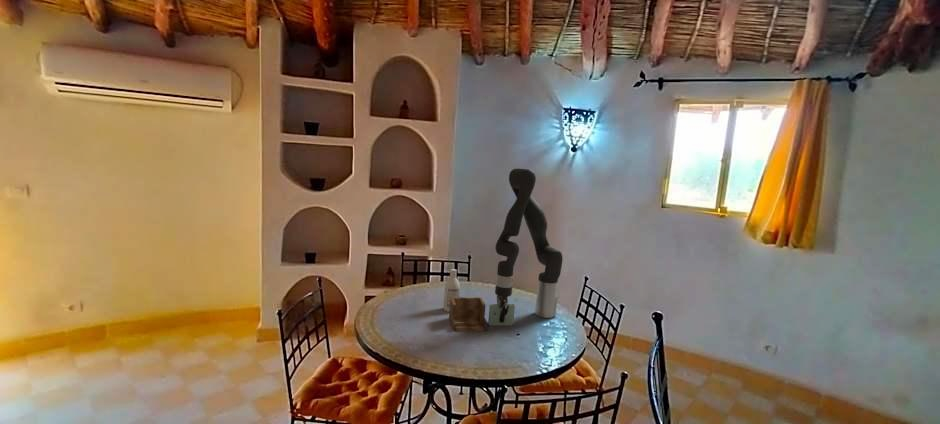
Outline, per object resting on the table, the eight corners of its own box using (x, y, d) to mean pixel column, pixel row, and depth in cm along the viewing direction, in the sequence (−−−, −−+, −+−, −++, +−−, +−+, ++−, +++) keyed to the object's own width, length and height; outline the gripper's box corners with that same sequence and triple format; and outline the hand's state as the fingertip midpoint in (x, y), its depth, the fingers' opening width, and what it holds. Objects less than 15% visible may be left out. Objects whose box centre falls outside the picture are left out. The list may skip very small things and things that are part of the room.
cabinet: (479, 317, 234) (481, 297, 232) (486, 330, 220) (488, 309, 219) (448, 318, 231) (450, 297, 230) (453, 330, 218) (455, 309, 216)
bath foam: (460, 310, 241) (463, 270, 238) (449, 313, 237) (452, 272, 233) (452, 306, 246) (455, 266, 243) (440, 308, 242) (443, 268, 238)
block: (511, 322, 231) (513, 304, 230) (513, 325, 228) (515, 306, 227) (488, 322, 229) (489, 304, 228) (489, 325, 226) (491, 306, 225)
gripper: (516, 289, 220) (512, 327, 223) (508, 279, 233) (505, 314, 236) (499, 289, 218) (496, 327, 221) (492, 279, 232) (489, 314, 235)
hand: (500, 320), depth 229 cm, fingers closed on block, 2 cm apart
